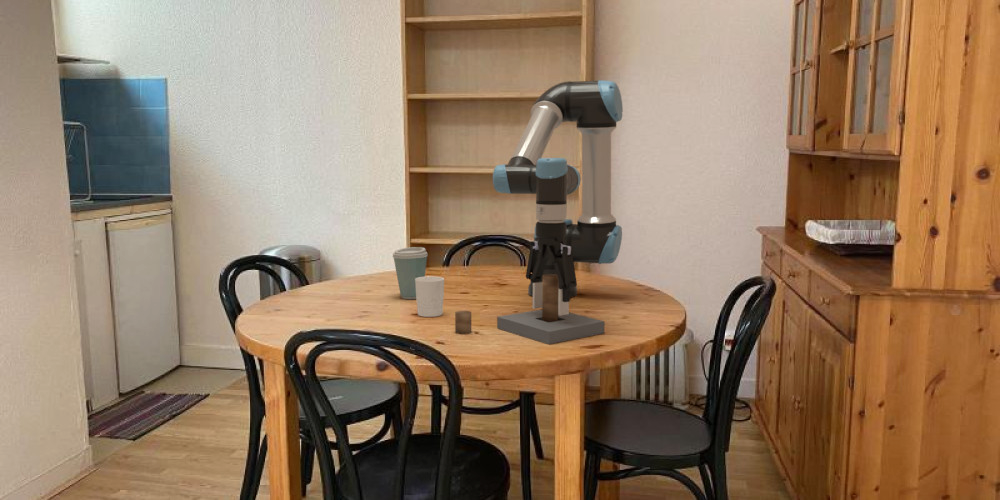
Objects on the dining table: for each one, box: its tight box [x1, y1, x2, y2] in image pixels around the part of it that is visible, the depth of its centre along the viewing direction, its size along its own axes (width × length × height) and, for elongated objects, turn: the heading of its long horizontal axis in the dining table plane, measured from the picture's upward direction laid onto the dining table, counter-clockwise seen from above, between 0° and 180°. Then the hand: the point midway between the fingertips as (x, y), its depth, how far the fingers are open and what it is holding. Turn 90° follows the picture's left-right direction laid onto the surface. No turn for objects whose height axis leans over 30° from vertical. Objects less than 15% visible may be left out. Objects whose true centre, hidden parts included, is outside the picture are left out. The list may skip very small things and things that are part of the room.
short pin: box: [454, 310, 472, 335], centre depth 190 cm, size 4×4×5 cm
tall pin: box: [541, 274, 559, 322], centre depth 191 cm, size 4×4×14 cm
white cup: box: [415, 275, 445, 318], centre depth 210 cm, size 8×8×10 cm
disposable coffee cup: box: [392, 246, 429, 300], centre depth 233 cm, size 11×11×15 cm
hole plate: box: [496, 308, 606, 345], centre depth 192 cm, size 20×18×3 cm
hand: (550, 311), depth 191 cm, fingers open, 9 cm apart
